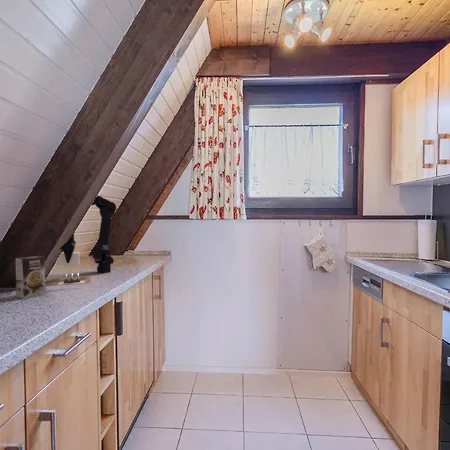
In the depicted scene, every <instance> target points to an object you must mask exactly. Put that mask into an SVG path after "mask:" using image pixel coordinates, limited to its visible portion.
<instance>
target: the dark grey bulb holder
mask: <svg viewBox="0 0 450 450" xmlns="http://www.w3.org/2000/svg"><path fill="white" fill-rule="evenodd" d="M76 277H77V279H76V280H73V278H74V273H70V278H71V280H67V278H68V273H65V274H64V278H65V280H64V283H77V282H80V279H79V277H80V272H76Z"/></svg>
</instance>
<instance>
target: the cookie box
mask: <svg viewBox="0 0 450 450" xmlns="http://www.w3.org/2000/svg"><path fill="white" fill-rule="evenodd" d="M45 257H46V256H42V255H33V256H22V257H16V258H15V297H16V298H20V299H22V300H23V299H24V300H25V299H30V298H35V297H41V296H44V295H46V286H45V281H46V264H45V263H46V261H45V260H46V258H45Z"/></svg>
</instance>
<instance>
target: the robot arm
mask: <svg viewBox="0 0 450 450" xmlns="http://www.w3.org/2000/svg"><path fill="white" fill-rule="evenodd" d="M96 196H97V197H96V198H95V200H94V202H93V203H92V205H91V206H90V207H92V206H96V208H98V209H99V215H100V217H101V220H100V227H99V235H98V241H97V244H96V246H93V247H92V253H91V255H92V258H93V260H94V263H95V264H97V266H96V273H97V274H108V273H110V274H111V273H112V272H111V267H112V266H111V265H113V263H114V262H115V260H114V258H113V257H112V256H111V255H110V254H111V251H110V248H109V246H108V243H109V236H110V232H111V231H110V230H111V224H112V223H111V222H112V218H113V217H114V216H115V215H116V210H117V205H116V204H115V202H114V201H111V200H108V199H106V198H104V197H103V196H101V195H96ZM76 245H77V242H76V240H75V232H74V233H73V235H72V237H71V238H70V240H69V241H68V242H67V243H65V244H64V245H63V246H62V247H61V248H60V249H62V251H61V252H62V253H64V254H65V258H66V262H67V263H69V262H70V259H71V256H72V254H73V252H75V249H76ZM60 249H59V250H60Z"/></svg>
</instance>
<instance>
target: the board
mask: <svg viewBox="0 0 450 450" xmlns="http://www.w3.org/2000/svg"><path fill="white" fill-rule="evenodd" d="M76 279H77V276H75V277H74V276H73V280H76ZM79 279H80V282H77V283H64V280H65V277H64V278H63V277H60V278H47V279H46V278H45V287H52V286H53V287H55V286H68V285H82V284H83V285H84V284H91V282H92V281H91V276H79ZM67 280H71V277H67Z"/></svg>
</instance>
